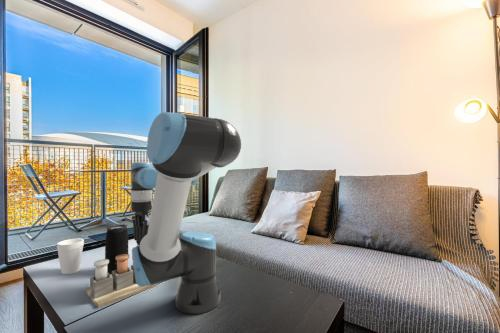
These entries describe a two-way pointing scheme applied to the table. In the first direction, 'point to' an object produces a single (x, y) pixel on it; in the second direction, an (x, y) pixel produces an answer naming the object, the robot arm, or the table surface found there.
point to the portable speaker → (115, 245)
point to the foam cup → (70, 255)
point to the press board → (114, 288)
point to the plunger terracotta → (122, 263)
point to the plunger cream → (101, 269)
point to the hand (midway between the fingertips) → (141, 259)
